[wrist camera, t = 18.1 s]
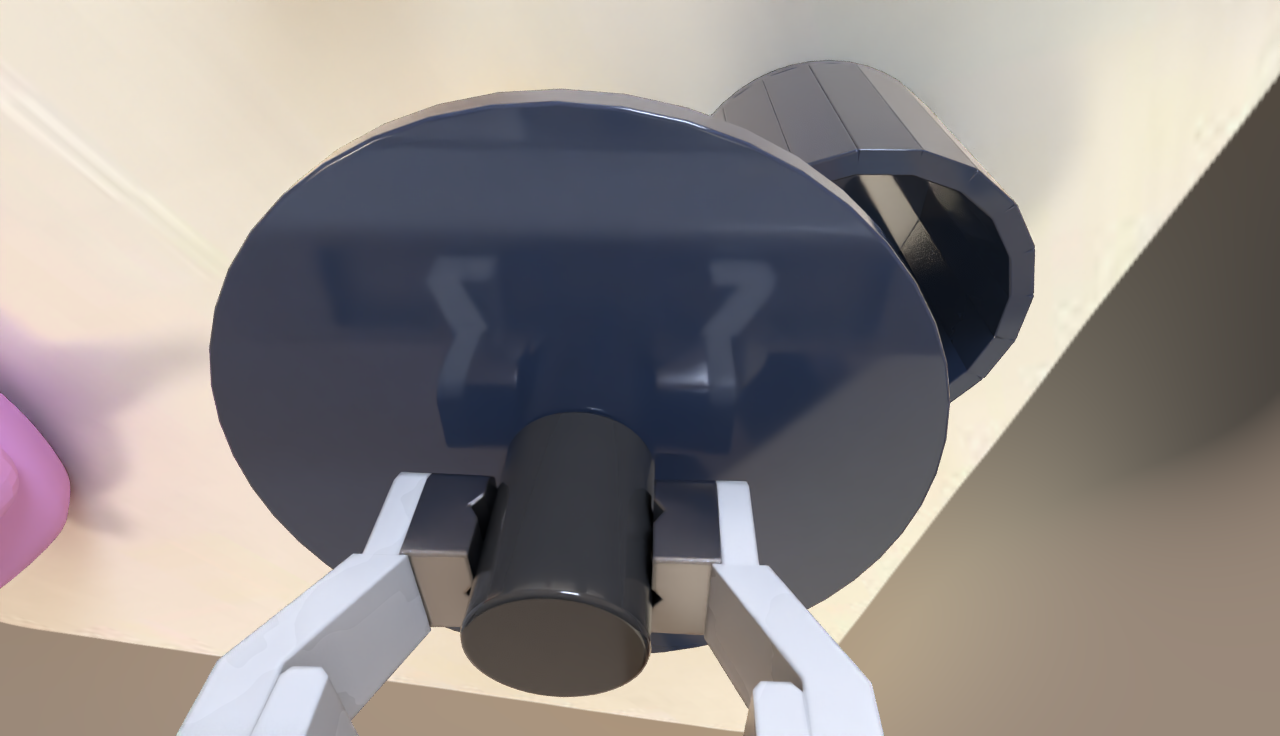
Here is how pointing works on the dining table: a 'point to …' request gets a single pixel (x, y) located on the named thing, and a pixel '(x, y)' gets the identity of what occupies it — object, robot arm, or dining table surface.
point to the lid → (579, 359)
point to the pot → (907, 197)
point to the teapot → (27, 492)
